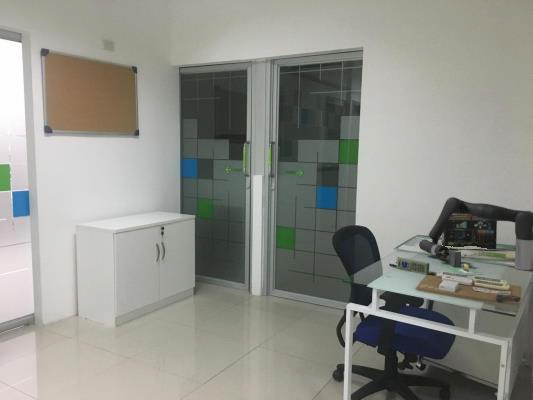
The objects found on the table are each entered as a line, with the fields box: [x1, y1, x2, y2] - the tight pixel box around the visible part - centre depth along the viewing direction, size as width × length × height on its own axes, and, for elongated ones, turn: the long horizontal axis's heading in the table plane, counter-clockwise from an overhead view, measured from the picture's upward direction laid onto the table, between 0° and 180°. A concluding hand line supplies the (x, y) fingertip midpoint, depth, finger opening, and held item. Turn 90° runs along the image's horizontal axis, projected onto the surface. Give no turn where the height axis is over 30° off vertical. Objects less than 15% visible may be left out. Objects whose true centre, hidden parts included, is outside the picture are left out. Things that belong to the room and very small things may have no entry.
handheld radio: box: [388, 256, 430, 276], centre depth 259 cm, size 7×3×25 cm
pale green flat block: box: [440, 263, 483, 277], centre depth 258 cm, size 22×14×5 cm, turn 7°
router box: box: [440, 213, 498, 250], centre depth 322 cm, size 36×11×27 cm, turn 81°
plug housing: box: [448, 249, 462, 268], centre depth 264 cm, size 6×4×9 cm, turn 7°
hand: (453, 256), depth 265 cm, fingers open, 8 cm apart
